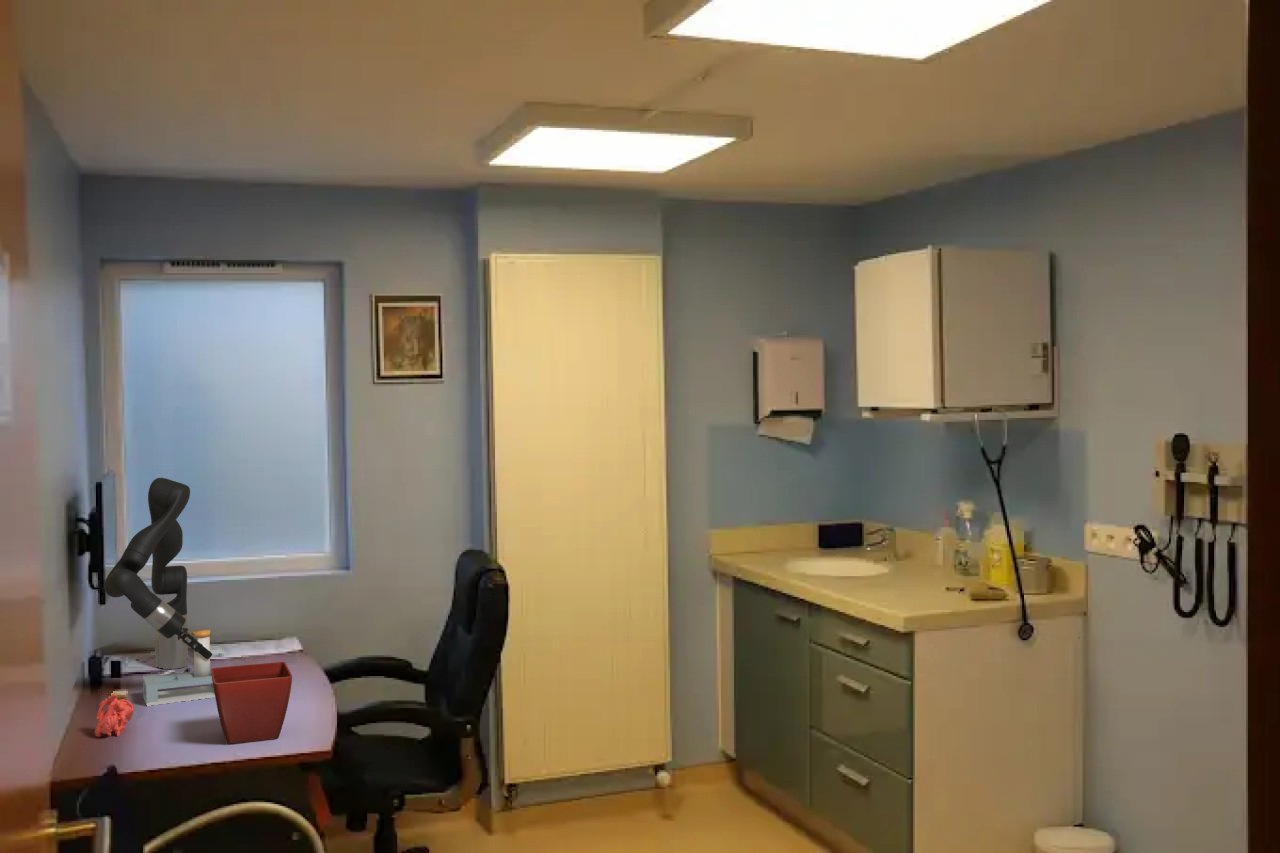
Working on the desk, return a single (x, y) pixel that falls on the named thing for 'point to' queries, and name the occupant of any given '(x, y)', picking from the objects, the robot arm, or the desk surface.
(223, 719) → the plant pot
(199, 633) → the orange ball-topped peg
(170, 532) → the robot arm
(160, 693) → the grey hollow block
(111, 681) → the desk surface
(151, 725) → the desk surface
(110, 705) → the anatomical heart
